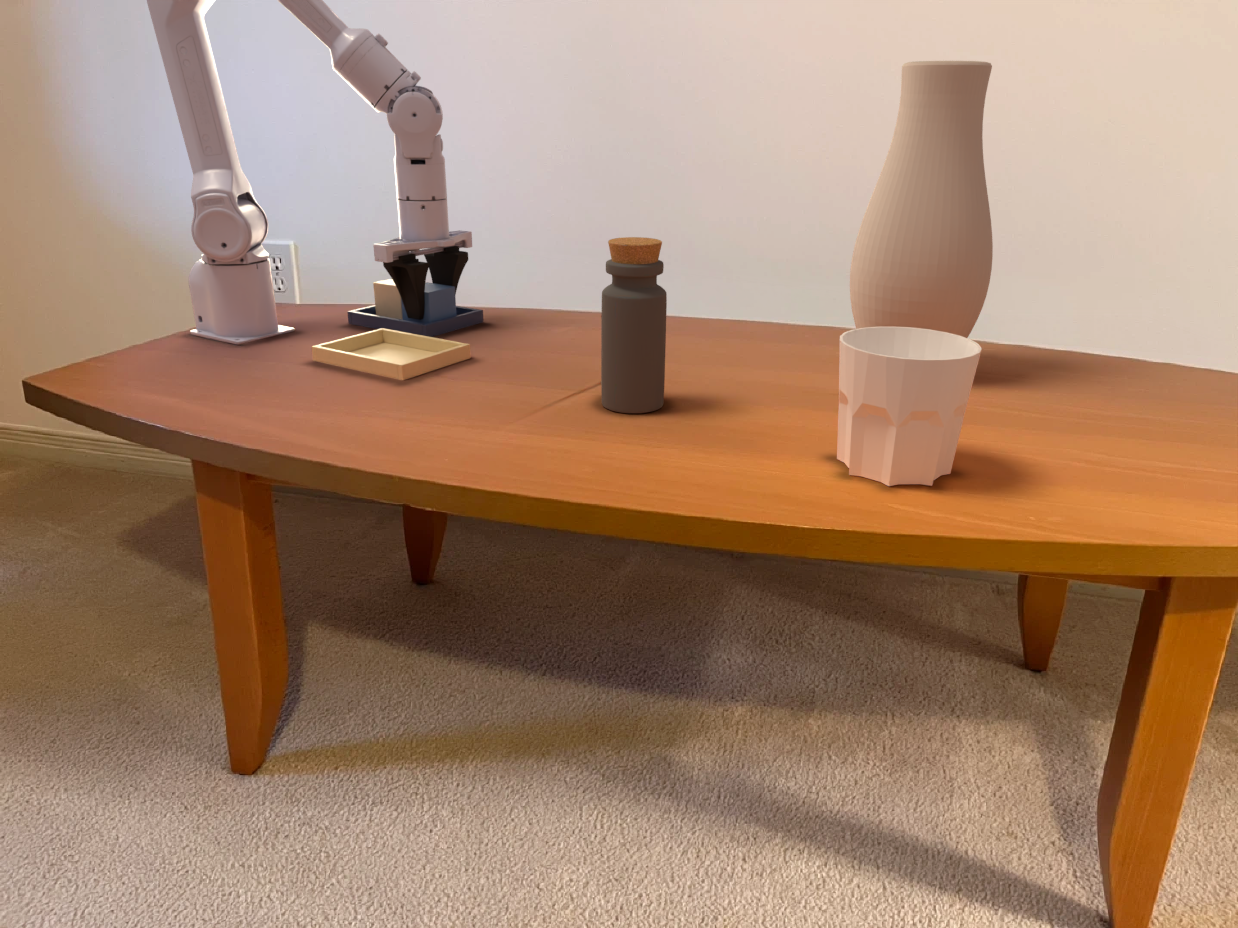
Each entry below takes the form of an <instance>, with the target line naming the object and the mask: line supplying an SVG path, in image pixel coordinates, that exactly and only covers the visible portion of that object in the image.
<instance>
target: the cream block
mask: <svg viewBox="0 0 1238 928" xmlns="http://www.w3.org/2000/svg"><path fill="white" fill-rule="evenodd" d="M425 283H426V282H425ZM372 284H373V285H372V286H373V296H374V297H373V298H374V305H375V308H376V315H378V316H384V317H390V318H396V319H401V320H403V315H402V302H401V296H400V294H399V291H398V289H397V287H396V285H395V283H394V281H393V279H392V278H388V279H383V280H378V281H374V282H373V283H372Z"/></svg>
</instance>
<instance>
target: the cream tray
mask: <svg viewBox="0 0 1238 928" xmlns="http://www.w3.org/2000/svg"><path fill="white" fill-rule="evenodd" d="M311 354H312V355H311V356H312V361H313V362H318V363H322V364H327V365H331V366H336V367H339V368H344V369H349V370H354V371H358V372H362V373H363V372H364V373H367V374H368V373H369V374H372V375H377V376H382V377H384V378H385V377H386V378H391V379H395V380H400V381H405V380H408V379H412V378H414V377H417V376H420V375H423V374H427V373H430V372H432V371H436V370H439V369H441V368H444V367H447V366H451V365H454V364H457V363H460V362H463V361H467V360H469V359H471V344H470V343H465V342H460V341H456V340H449V339H443V338H438V337H435V336H433V337H428V336H423V335H417V334H412V333H406V332H401V331H395V330H390V329H385V328H380V329H373V330H368V331H366V332H362V333H358V334H354V335H350V336H346V337H341V338H339V339H335V340H330V341H326V342H323V343H320V344H315V345H312V346H311Z"/></svg>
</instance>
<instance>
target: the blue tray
mask: <svg viewBox="0 0 1238 928" xmlns="http://www.w3.org/2000/svg"><path fill="white" fill-rule="evenodd" d="M347 321H348V322H347V324H348V325H353V326H359V327H364V328H369V329H373V330H377V329H380V328H385V329H390V330H395V331H401V332H406V333H412V334H417V335H423V336H428V337H437V336H440V335H444V334H447V333H450V332H454V331H457V330H460V329H464V328H468V327H472V326H474V325H478V324H481V323H484V309H480V308H473V307H468V306H467V307H466V306H460V305H456V316H453V317H449V318H445V319H442V320H438V321H434V322H431V323H427V324H424V323H419V322H413V321H407V320H401V319H396V318H390V317H384V316H378V315H376V308H375V304H373V305H368V306H364V307H361V308H360V307H359V308H356V309H351V310H347Z"/></svg>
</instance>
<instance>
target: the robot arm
mask: <svg viewBox="0 0 1238 928" xmlns="http://www.w3.org/2000/svg"><path fill="white" fill-rule="evenodd" d="M276 1H277V2H278V3H279V4H281V5H282V6H283V7H284V8H285V9H286V10H287V11H288V12H289V13H290V14H291V15H292V16H293V17H294V18H296V19H297V20H298V21H299V22H300V23H301V24H302V25H303V26H304V27H305V28H306V29H307V30H308V31H310V32H311V33H312V34H313V35H314V36H315V37H316V38H317V39H318V40H319V41H320V42H322V44H323V45H324V46H326V47H327V48H328V49H329V52H330V58H331V59H330V60H331V68H332V70H333V71H334V72H335V73H336V74H337V75H338V76H339V77H340V78H341V79H342V80H343V81H345V82H346V83H347V85H348V86H350V88H352V90H354V91H355V92H356V93H357V95H359V96H360V97H361V98H362V99H363V100H364V101H365V102H366V104H368V105H369V106H370V107H371V108H372V109H373V110H374V111H375V112H376V113H384V114H386V119H387V120H386V121H387V123H388V126H389V128H390V130H391V131H392V132H393V140H394V141H393V142H394V153H395V154H394V157H393V166H394V178H395V179H394V181H395V192H396V204H397V217H398V227H399V229H398V230H399V236H398V237H395V238H392V239H388V240H386V241H382V242H377V243H373V244H372V245H373V256H374V257H373V258H374V261H375V262H377V263H382V264H383V268H384V269H385V270H386V272H387V273H388V275H389V276H390V279H393V281H394V283H395V285H396V287H397V289H398V291H399V294H400V296H401V299H402V302H403V304H404V307H405V310H406V313H407V316H408V318H412V319H418V320H421V319H423V318H424V309H425V295H424V294H425V282H426V281H427V276H428V271H429V273H430V278H431V283H435V284H441V285H448V286H454V287H455V296H456V295H457V291H458V287H459V286H458V285H459V282H460V280H461V276H462V274H463V272H464V269H465V267H466V265H467V264H468V261H469V252H468V251H466V250H465V251H464V250H460V249H469V248H473V232H472V230H471V231H470V230H462V229H461V230H451V231H450V227H449V226H450V225H449V212H448V211H449V209H448V208H449V207H448V191H447V176H446V159H445V157H444V155H443V150H444V141H443V139H442V134H438V133H439V132H440V130H441V128H442V125H443V119H444V115H443V110H442V109H443V108H442V105H441V103H440V101H439V100H438V99H437V97H436V96H435V95H434V93H433V91H432V90H431V89H429V88H427V87H425V86H422V85H418V83H419V82H420V81H421V80H422V77H421V76H420V75H419V74H418V73H417V71H415V70H414V71H412V72H411V71H410V70H408V68H407V67H406V66H405V65H404V64H403V63H402V62H401V61H400V60H399V59H398V58H397V57H396V56H395V55H394V54H393V53H392V52H391V51H390V50H389V49H388V47H387V46H388V45H389V42H388V41H387V40H386V38H384V36H383V35H382V34H380V33H376V35H374V34H373V33H372V32H371V31H370V30H369V29H367V28H351V27H349V26H347V25H346V23H345V22H344V21H343V20H342V19H341V18H340V17H339V16H338V15H337V14H336V13H335V12H334V11H333V10H332V8H330V6H329V5H328V4H327V3H325V1H324V0H276ZM215 2H216V0H146V3H147V8H148V11H149V16H150V19H151V23H152V25H153V30H154V34H155V37H156V41H157V45H158V48H159V52H160V55H161V60H162V63H163V67H164V70H165V75H166V78H167V82H168V86H169V90H170V93H171V97H172V101H173V104H174V108H175V112H176V115H177V120H178V123H179V126H180V130H181V135H182V138H183V142H184V146H185V149H186V152H187V153H186V154H187V156H188V160H189V164H190V167H191V168H190V169H191V171H192V182H191V183H192V184H191V190H190V198H191V202H192V206H193V217H192V221H191V227H190V231H191V232H190V233H191V237H192V240H193V242H194V244H195V245H196V247H197V248H198V249H199V251H200V252H201V253H202V254H201V258H200V259H198V260H197V261H195V263H194V264H193V265H192V267H191V269H190V271H189V274H188V288H189V295H190V300H191V306H192V311H193V318H194V323H195V329H191V330H189V334H190V335H191V336H196V337H201V338H205V339H210V340H215V341H220V342H224V343H228V344H232V345H237V346H241V345H242V344H245V343H250V342H254V341H258V340H262V339H267V338H271V337H275V336H278V335H284V334H288V333H292V332H295V331H296V328H294V327H292V326H286V325H281V324H279V321H278V314H277V313H278V312H277V305H276V298H275V291H274V283H273V275H272V268H271V260H270V254H269V252H268V251H266V249H265V248H264V246H263V243H264V241H265V240H266V238H267V236H268V233H269V219H268V217H267V213H266V212H265V211H264V209H263V207H262V206H261V205H260V204H259V203H258V201H257V200H256V198H255V196H254V192H253V188H252V185H251V183H250V181H249V179H248V177H247V176H246V174H245V173H244V171H243V169H242V165H241V162H240V158H239V154H238V150H237V146H236V142H235V137H234V134H233V130H232V125H231V121H230V118H229V114H228V109H227V106H226V101H225V98H224V97H225V96H224V94H223V89H222V85H221V81H220V78H219V73H218V69H217V65H216V61H215V57H214V54H213V49H212V45H211V41H210V38H209V33H208V30H207V25H206V21H205V15H206V14H207V12H208V11H209V9H210V8H211V7H212V5H213V4H214V3H215ZM418 256H424V258H425V261H426V262H425V261H420V260H419V258H417V257H418Z"/></svg>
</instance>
